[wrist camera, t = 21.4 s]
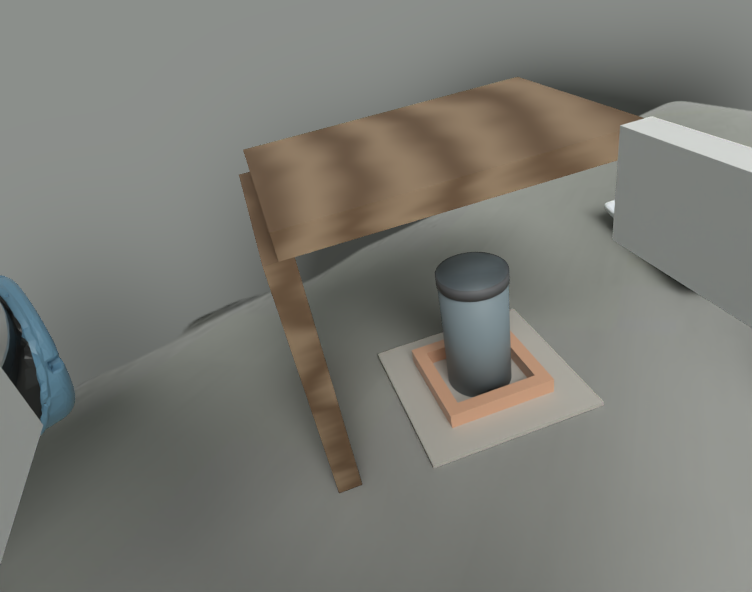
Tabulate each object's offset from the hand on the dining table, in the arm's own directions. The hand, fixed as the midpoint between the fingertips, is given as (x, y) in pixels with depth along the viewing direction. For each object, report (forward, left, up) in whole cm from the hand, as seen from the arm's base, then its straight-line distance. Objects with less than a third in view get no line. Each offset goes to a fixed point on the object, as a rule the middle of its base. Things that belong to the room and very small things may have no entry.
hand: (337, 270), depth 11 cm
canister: (+14, +28, -32) cm, 44 cm away
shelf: (+12, +30, -32) cm, 45 cm away
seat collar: (+14, +28, -32) cm, 44 cm away
